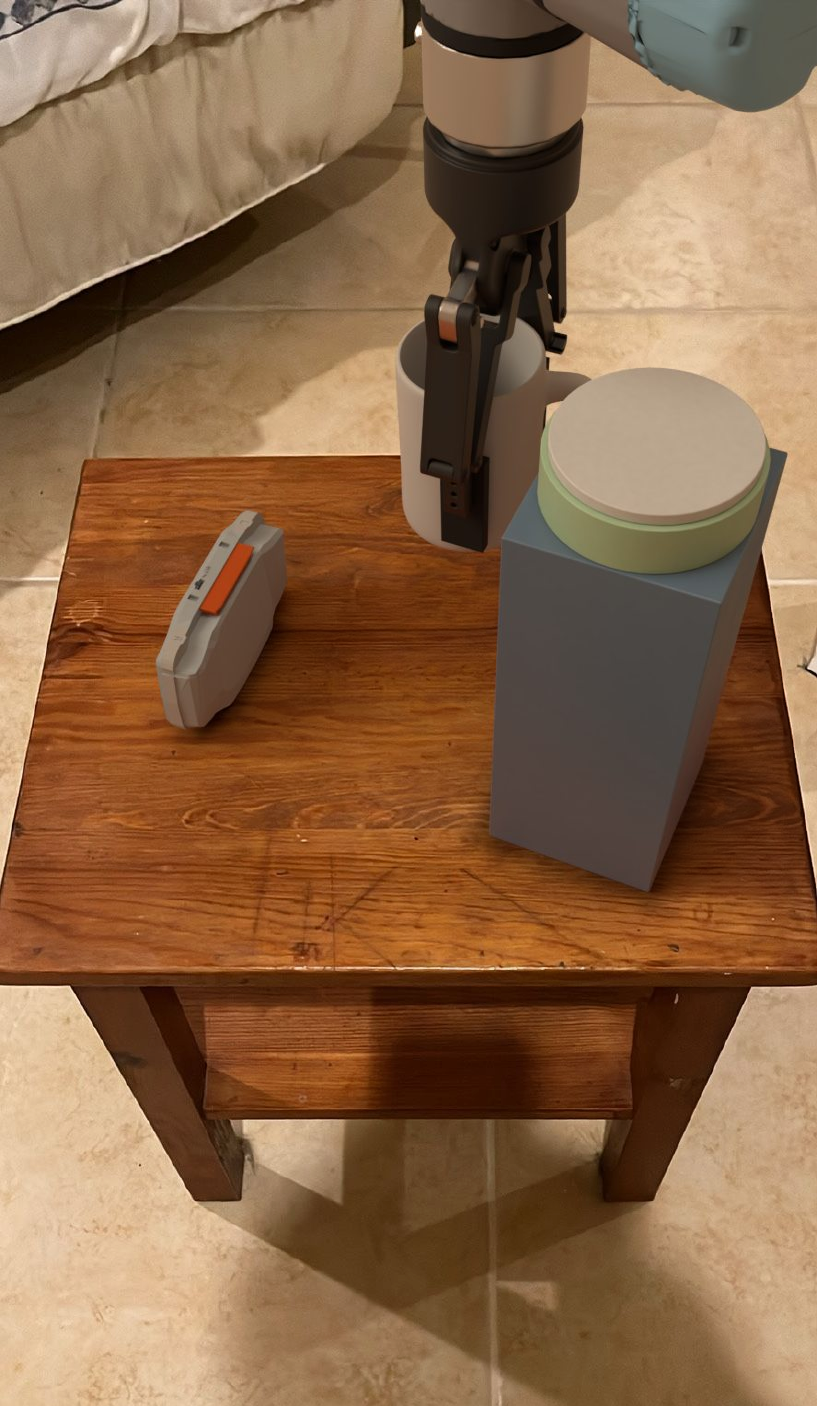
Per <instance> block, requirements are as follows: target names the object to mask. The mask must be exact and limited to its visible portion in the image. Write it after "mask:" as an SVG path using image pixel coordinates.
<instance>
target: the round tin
mask: <svg viewBox="0 0 817 1406" xmlns="http://www.w3.org/2000/svg"><path fill="white" fill-rule="evenodd" d="M770 448H771V447H770V445H769V440H768V438H767V435H766V433H765V430H764V427H763V425H762V423H761V421H760V419H759V417H758V416H757V414H756V412H755V411H754V410H753V408H752V407H751V406H750V405H749V404H748V403H747V402H746V401H745V400H744V399H743V398H742V397H741V396H739V395H738V394H737V393H736V392H734V391H733V390H732V389H730V388H728V387H727V386H725V385H723V384H721V383H719V382H717V381H715V380H713V379H711V378H709V377H706V376H703V375H700V374H697V373H693V372H690V371H685V370H680V369H676V368H675V369H674V368H668V367H635V368H628V369H621V370H617V371H613V372H609V373H605V374H603V375H600V376H598V377H595V378H593V379H592V380H591V381H588V382H587V383H585V384H583V385H582V386H580V387H578V388H577V389H576V390H574V391H573V392H572V393H571V394H569V395H568V396H567V397H566V398H565V399H564V400H563V401H561V402H560V404H559V406H557V408H556V409H555V410H554V411H553V413H552V414H551V416H550V417H549V419H548V420H547V421H546V425H545V428H544V431H543V435H542V438H541V447H540V461H539V475H538V489H537V494H538V503H539V506H540V509H541V513H542V515H543V517H544V519H545V521H546V523H547V524H548V526H549V527H550V528H551V530H552V531H553V533H554V534H555V535H556V536H557V537H558V538H559V539H560V540H561V541H562V542H563V543H564V544H566V545H567V546H568V547H569V548H571V549H572V550H573V551H575V552H577V553H578V554H580V555H582V556H583V557H585V558H587V559H589V560H591V561H593V562H596V563H598V564H601V565H604V566H607V567H609V568H613V569H617V570H621V571H626V572H633V573H639V574H670V573H677V572H684V571H688V570H692V569H696V568H699V567H702V566H705V565H707V564H710V563H712V562H714V561H716V560H718V559H720V558H722V557H724V556H725V555H727V554H728V553H729V552H731V551H732V550H734V549H735V548H736V547H737V546H738V545H739V544H740V543H741V542H742V541H743V540H744V539H745V538H746V536H747V535H748V534H749V533H750V531H751V529H752V527H753V525H754V523H755V521H756V518H757V515H758V512H759V508H760V504H761V500H762V496H763V493H764V489H765V485H766V481H767V478H768V474H769V469H770V462H771V458H770Z"/></svg>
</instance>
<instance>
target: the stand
mask: <svg viewBox="0 0 817 1406" xmlns="http://www.w3.org/2000/svg"><path fill="white" fill-rule="evenodd" d="M769 448H770V458H771V462H770V469H769V474H768V478H767V481H766V485H765V489H764V493H763V496H762V500H761V504H760V508H759V512H758V515H757V518H756V521H755V523H754V525H753V527H752V529H751V531H750V533H749V534H748V535H747V536H746V538H745V539H744V540H743V541H742V542H741V543H740V544H739V545H738V546H737V547H736V548H735V549H734V550H732V551H731V552H729V553H728V554H727V555H725V556H724V557H722V558H720V559H718V560H716V561H714V562H712V563H710V564H707V565H705V566H702V567H699V568H696V569H692V570H688V571H684V572H677V573H670V574H639V573H633V572H626V571H621V570H617V569H613V568H609V567H607V566H604V565H601V564H598V563H596V562H593V561H591V560H589V559H587V558H585V557H583V556H582V555H580V554H578V553H577V552H575V551H573V550H572V549H571V548H569V547H568V546H567V545H566V544H564V543H563V542H562V541H561V540H560V539H559V538H558V537H557V536H556V535H555V534H554V533H553V531H552V530H551V528H550V527H549V526H548V524H547V523H546V521H545V519H544V517H543V515H542V513H541V509H540V506H539V503H538V494H537V489H538V475H539V473H538V475H537V476H536V478H535V480H534V482H533V483H532V485H531V487H530V489H529V490H528V492H527V494H526V496H525V498H524V499H523V501H522V503H521V505H520V506H519V508H518V510H517V512H516V513H515V515H514V517H513V519H512V520H511V522H510V524H509V526H508V527H507V529H506V531H505V533H504V535H503V536H502V542H501V547H500V564H499V565H500V568H499V589H498V591H499V593H498V617H497V637H496V640H497V641H496V660H495V661H496V662H495V664H496V665H495V685H494V687H495V688H494V706H493V707H494V709H493V710H494V711H493V732H492V733H493V734H492V754H491V755H492V756H491V757H492V758H491V777H490V778H491V779H490V801H489V802H490V804H489V805H490V806H489V825H488V826H489V828H488V831H489V832H488V835H489V836H490V837H493V838H494V839H498V840H500V841H503V842H505V843H509V844H512V845H515V846H517V847H520V848H523V849H525V850H528V851H532V852H534V853H537V854H540V855H543V856H545V857H548V858H550V859H553V860H556V861H559V862H562V863H564V864H568V865H570V866H573V867H576V868H579V869H581V870H584V871H587V872H590V873H592V874H595V875H598V876H601V877H604V878H607V879H610V880H612V881H614V882H617V883H621V884H623V885H626V886H629V887H632V888H635V889H637V890H641V891H643V892H646V893H650V891H651V889H652V887H653V884H654V881H655V879H656V877H657V875H658V872H659V870H660V867H661V865H662V862H663V860H664V857H665V855H666V852H667V851H668V848H669V845H670V843H671V840H672V838H673V835H674V833H675V831H676V829H677V827H678V823H679V821H680V819H681V816H682V814H683V811H684V808H685V807H686V804H687V802H688V799H689V797H690V794H691V792H692V791H693V788H694V785H695V782H696V780H697V778H698V776H699V773H700V770H701V768H702V766H703V763H704V759H705V755H706V752H707V748H708V745H709V741H710V737H711V733H712V731H713V726H714V723H715V719H716V716H717V715H716V714H717V712H718V708H719V704H720V701H721V698H722V694H723V691H724V686H725V683H726V679H727V676H728V673H729V668H730V665H731V661H732V658H733V654H734V650H735V647H736V642H737V639H738V636H739V633H740V629H741V626H742V621H743V617H744V615H745V610H746V607H747V603H748V599H749V596H750V592H751V589H752V585H753V581H754V578H755V574H756V571H757V567H758V564H759V559H760V556H761V552H762V549H763V545H764V541H765V538H766V535H767V530H768V527H769V523H770V520H771V517H772V513H773V509H774V505H775V502H776V498H777V495H778V491H779V487H780V483H781V480H782V476H783V472H784V469H785V466H786V462H787V458H788V452H787V451H784V450H781V449H777V448H773V447H769Z"/></svg>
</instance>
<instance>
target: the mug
mask: <svg viewBox="0 0 817 1406" xmlns="http://www.w3.org/2000/svg"><path fill="white" fill-rule="evenodd" d="M480 316H483V318H484V320H487V321H491V322H495V323H499V320H500V316H489V315H485V314H481V313H480ZM546 353H547V351H546V352H545V347H544V344H543V341H542V340H541V338H540V336H539V335H538V333H537V332H536V331H535V330H534V329H533V328H532V327H531V326H530V325H529V324H528V323H526V322H525V321H523V320H522V319H520V318H517V317H516V323H515V328H514V333H513V336H512V337H511V338H510V339H509V340H507V341H505V342H504V343H503V344H502V349H501V354H500V360H499V366H498V372H497V377H496V383H495V389H494V394H493V400H492V406H491V411H490V417H489V423H488V428H487V434H486V440H485V445H484V451H483V456H486V457H490V465H489V512H488V545H487V547H486V549H485V550H484V552H487V551H492V550H496V549H499V548H501V542H502V536H503V535H504V533H505V531H506V529H507V527H508V526H509V524H510V522H511V520H512V519H513V517H514V515H515V513H516V512H517V510H518V508H519V506H520V505H521V503H522V501H523V499H524V498H525V496H526V494H527V492H528V490H529V489H530V487H531V485H532V483H533V482H534V480H535V478H536V476H537V475H538V473H539V461H540V447H541V438H542V432H543V418H544V411H545V408H546V406H547V407H548V406H549V405H552V404H555V403H559V402H560V403H561V402H563V400H564V399H565V398H566V397H567V396H568V395H569V394H571V393H572V392H573V391H574V390H576V389H577V388H578V387H580V386H582V385H583V384H585V383H587V382H588V381H591V380H593V379H592V378H591V377H589V376H587V375H585V374H583V373H579V372H571V371H559V370H550V369H549V370H547V369H546V357H547V354H546ZM426 354H427V337H426V328H425V319H424V318H423V319H421V320H420V321H418V322H417V323H416V324H414V325H413V326H412V327H410V328H409V330H407V331H406V333H405V334H404V335H403V336H402V337H401V339H400V341H399V343H398V345H397V349H396V352H395V358H394V368H395V370H394V371H395V372H394V373H395V387H396V403H397V406H396V407H397V419H398V420H397V421H398V435H399V452H400V455H399V456H400V468H401V469H400V470H401V471H400V472H401V501H402V502H401V503H402V509H403V514H404V516H405V518H406V521H407V522H408V524H409V526H410V527H411V528H412V530H413V531H414V532H415V533H416V534H417V535H418V536H419V537H421V539H423V540H425V542H428V543H429V544H431V545H433V546H435V547H438V548H441V549H444V550H448V551H452V552H458V553H478V552H477V551H474V550H471V549H467V548H464V547H461V546H457V545H454V544H450V543H447V542H444V541H441V507H440V479H439V478H435V477H432V476H429V475H425V474H422V473H421V472H420V457H421V440H422V423H423V405H424V388H425V371H426Z"/></svg>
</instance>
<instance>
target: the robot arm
mask: <svg viewBox="0 0 817 1406" xmlns="http://www.w3.org/2000/svg"><path fill="white" fill-rule="evenodd" d="M419 2H420V21H418V22H417V24H416V27H415V29H414V32H413V34H414V41H415V42H416V44H417V45H419V46H421V60H422V61H421V64H422V65H421V67H422V68H421V69H422V71H421V72H422V102H423V105H422V106H423V111H424V114H425V116H426V117H425V119H424V121H423V125H422V137H423V138H422V144H423V145H422V146H423V147H422V148H423V149H422V151H423V183H424V185H423V186H424V194H425V197H426V198H425V199H426V201H427V203H428V205H429V207H430V208H431V210H432V211H433V212H434V213H435V214H436V215H437V216H438V217H439V218H440V219H441V220H442V222H444V224H445V225H447V227H448V228H449V229H450V231H451V232H452V233H453V235H454V237H455V238H454V239H453V241H452V244H451V246H450V247H451V248H450V253H449V260H448V266H447V269H448V271H447V272H448V273H449V274H448V275H449V277H450V284H449V290H448V293H447V295H446V296H441V295H438V294H433V293H431V294H429V295H428V297H427V299H426V301H425V304H424V307H423V308H424V309H423V313H424V314H423V317H424V318H423V319H425V328H426V337H427V354H426V371H425V388H424V405H423V423H422V440H421V457H420V472H421V473H422V474H425V475H429V476H432V477H435V478H439V479H440V507H441V541H444V542H447V543H450V544H454V545H457V546H461V547H464V548H467V549H471V550H474V551H477V552H476V553H481V554H483V553H484V552H485V551H484V550H485V549H486V547H487V545H488V512H489V465H490V457H486V456H483V451H484V445H485V440H486V434H487V428H488V423H489V417H490V411H491V406H492V400H493V394H494V389H495V383H496V377H497V372H498V366H499V360H500V354H501V349H502V344H503V343H504V342H505V341H507V340H509V339H510V338H511V337H512V336H513V333H514V328H515V323H516V317H517V318H520V319H522V320H523V321H525V322H526V323H528V324H529V325H530V326H531V327H532V328H533V329H534V330H535V331H536V332H537V333H538V335H539V336H540V338H541V340H542V341H543V344H544V347H545V352H546V353H547V352H548V353H551V354H556V355H558V356H559V355H560V356H561V355H563V354H564V352H565V349H566V346H567V343H568V334H567V333H566V334H565V333H563V332H558V331H556V329H555V324H559V325H561V324H562V323H563V322H564V320H565V319H566V316H567V313H568V310H567V307H568V305H567V304H568V303H567V302H568V299H567V294H568V293H567V289H568V288H567V285H568V283H567V281H568V280H567V213H568V211H570V209H571V208H572V207H573V205H574V203H575V202H576V199H577V197H578V194H579V189H580V178H581V166H582V153H583V140H584V127H585V126H584V121H583V119H582V117H583V115H584V113H585V111H586V108H587V104H588V103H587V102H588V89H589V74H590V61H591V45H592V38H593V39H595V40H596V41H598V42H599V43H601V44H603V45H605V46H607V47H608V48H610V49H611V50H613V51H615V52H617V53H618V54H620V55H621V56H623V57H625V58H626V59H627V60H629V61H632V62H633V63H635V64H636V65H638V66H640V67H641V68H643V69H645V70H646V71H648V72H649V74H651V75H652V77H655V78H658V80H659V81H661V83H662V84H664V85H666V86H667V87H670V86H671V87H673V88H674V89H676V90H678V91H679V92H681V93H682V92H686V91H689V92H691V93H693V94H694V95H695V96H700V97H703V98H705V99H708V100H710V101H712V102H715V103H716V104H719V105H721V106H723V107H726V108H728V109H730V110H733V111H735V112H739V113H740V112H741V113H759V112H764V111H768V110H771V109H774V108H777V107H779V106H780V105H783V104H784V103H786V102H788V101H789V100H791V99H792V98H794V97H795V96H796V95H797V94H799V93H800V92H801V91H802V90H803V89H804V88H805V87H806V85H807V83H808V80H809V78H810V76H811V75H812V72H813V70H814V69H815V68H816V67H817V0H419ZM480 313H481V314H485V315H489V316H500V320H499V323H495V322H491V321H487V320H484V318H483V316H480ZM550 362H551V357H550V356H546V369H547V370H549V371H550ZM547 407H548V405H547V406H546V408H545V411H544V418H543V431H544V428H545V426H546V424H547ZM542 435H543V432H542Z"/></svg>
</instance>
